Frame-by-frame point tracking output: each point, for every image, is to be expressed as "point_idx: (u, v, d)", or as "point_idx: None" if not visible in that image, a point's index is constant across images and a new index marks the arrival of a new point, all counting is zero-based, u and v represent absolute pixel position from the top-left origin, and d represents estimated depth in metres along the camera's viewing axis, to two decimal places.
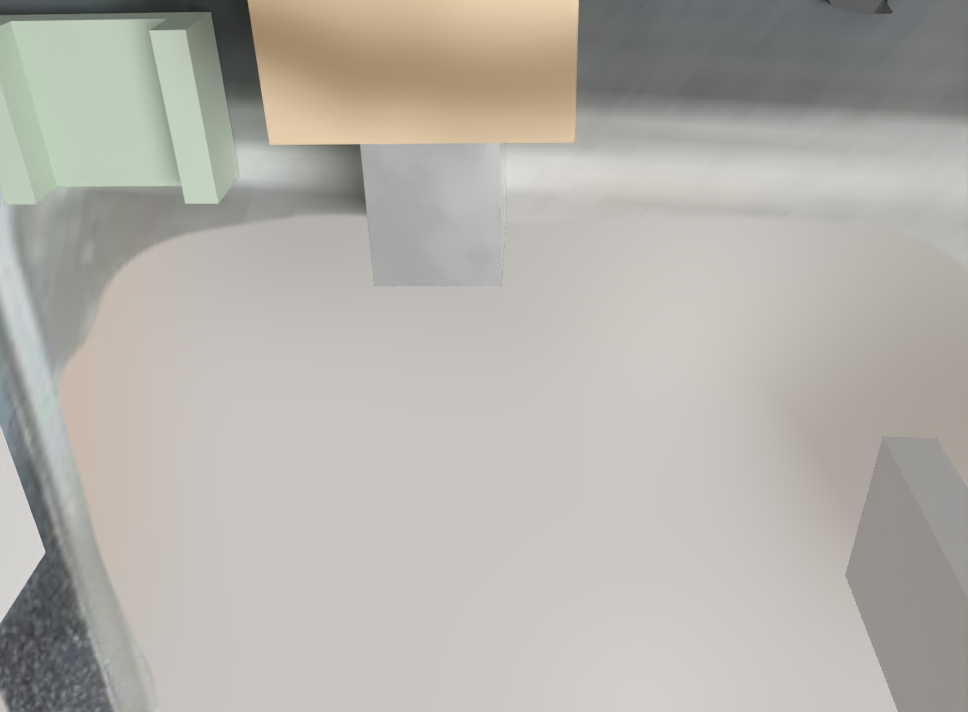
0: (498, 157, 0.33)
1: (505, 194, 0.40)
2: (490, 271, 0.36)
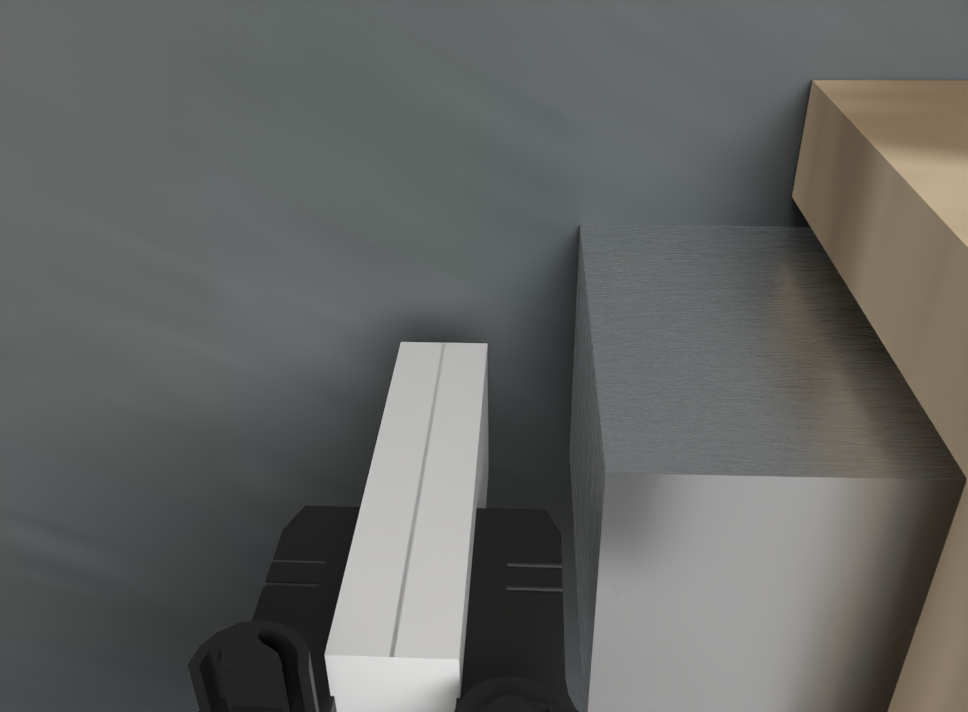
0: None
1: None
2: None
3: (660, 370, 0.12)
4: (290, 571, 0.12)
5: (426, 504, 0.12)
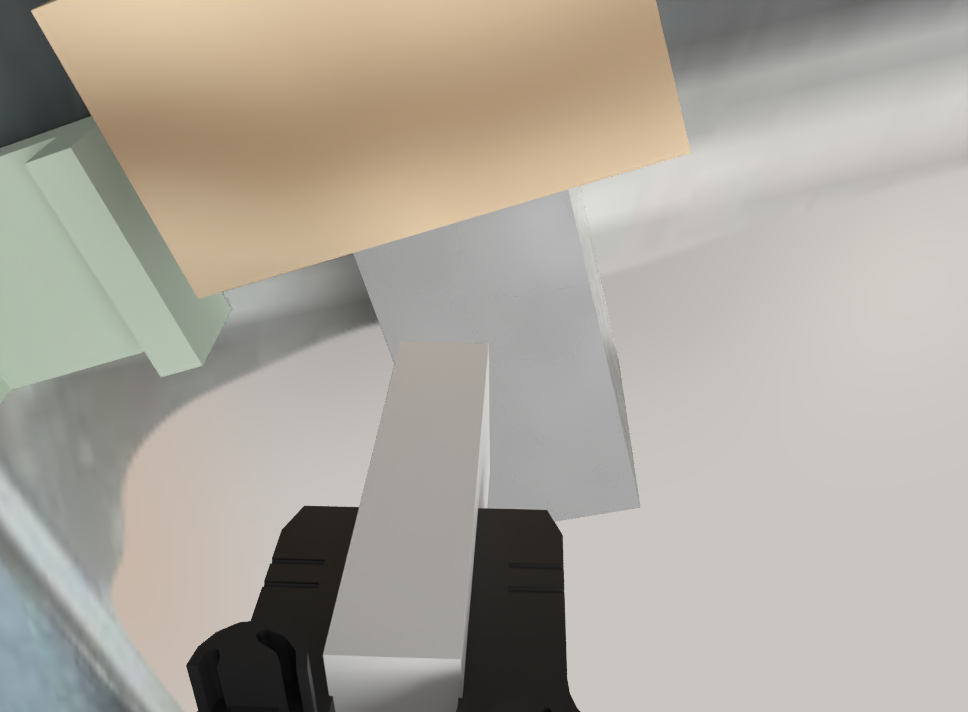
0: (602, 348, 0.22)
1: (613, 346, 0.29)
2: (620, 492, 0.24)
3: None
4: (289, 571, 0.12)
5: (425, 504, 0.12)
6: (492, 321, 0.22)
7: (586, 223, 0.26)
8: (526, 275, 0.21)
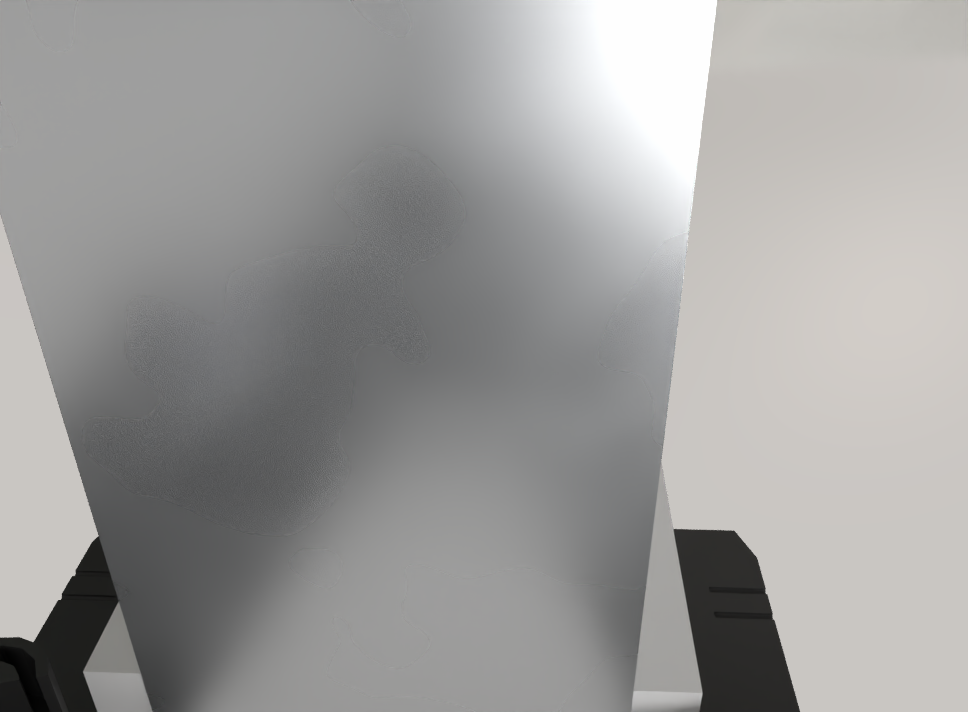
0: None
1: None
2: None
3: None
4: (89, 584, 0.12)
5: None
6: (388, 615, 0.09)
7: None
8: (499, 541, 0.08)
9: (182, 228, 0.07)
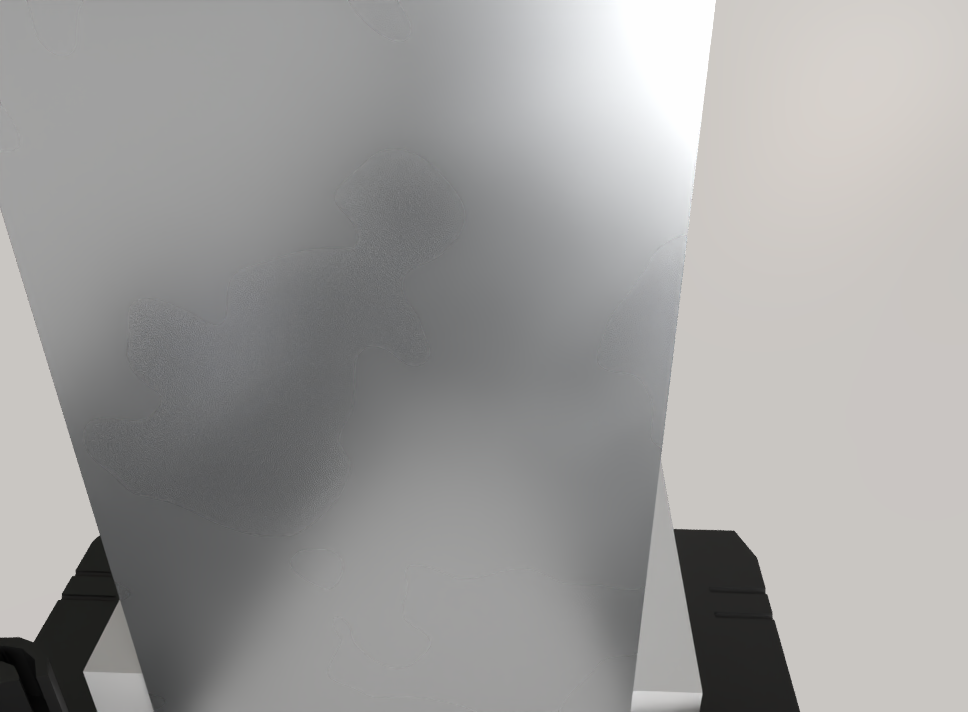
0: None
1: None
2: None
3: None
4: (89, 584, 0.12)
5: None
6: (388, 615, 0.09)
7: None
8: (499, 542, 0.08)
9: (184, 232, 0.07)
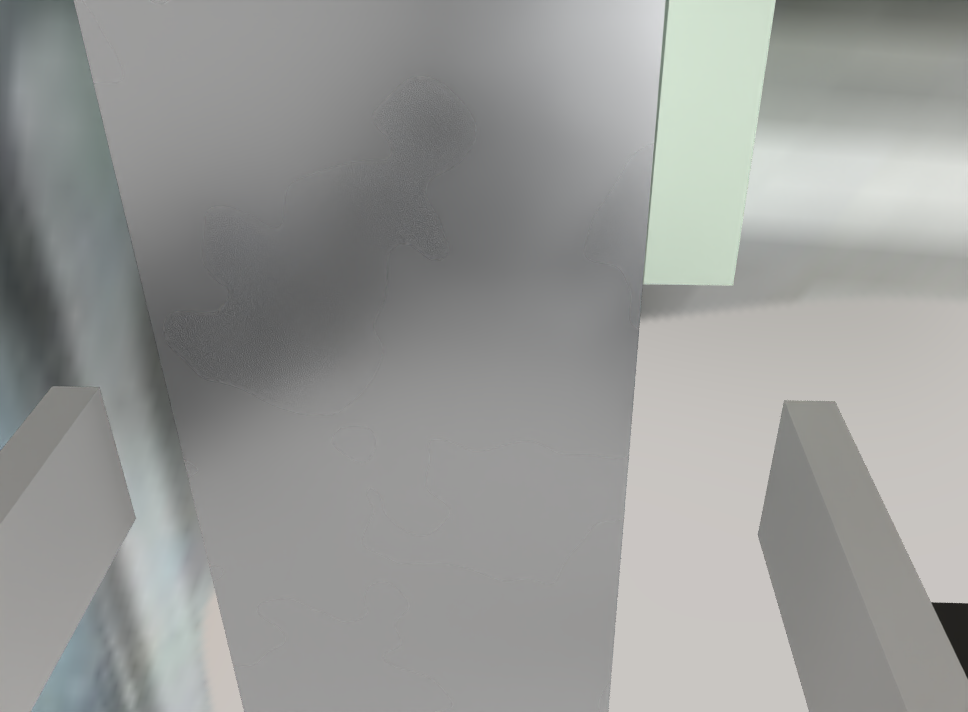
0: (616, 575, 0.11)
1: None
2: None
3: None
4: None
5: None
6: (414, 486, 0.10)
7: None
8: (506, 417, 0.10)
9: (251, 147, 0.08)
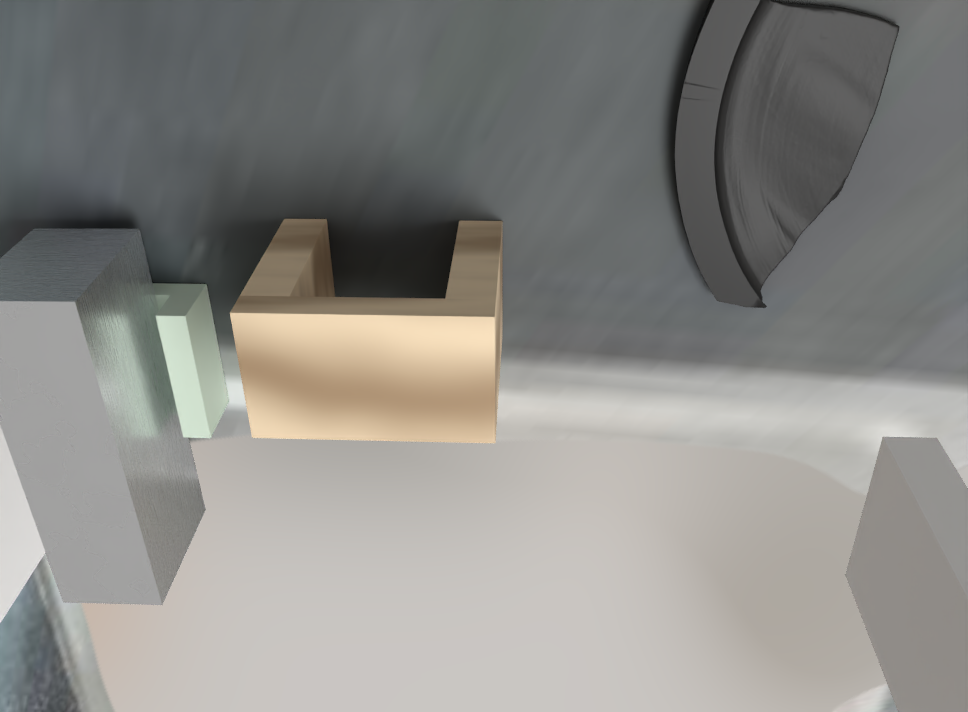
0: (138, 525, 0.43)
1: (193, 504, 0.50)
2: (151, 595, 0.45)
3: (102, 295, 0.39)
4: None
5: None
6: (81, 502, 0.42)
7: (175, 442, 0.47)
8: (99, 486, 0.42)
9: (30, 432, 0.40)
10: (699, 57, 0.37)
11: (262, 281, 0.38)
